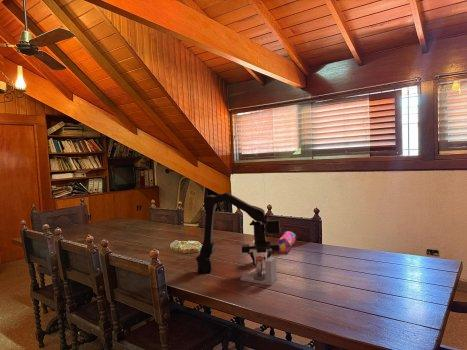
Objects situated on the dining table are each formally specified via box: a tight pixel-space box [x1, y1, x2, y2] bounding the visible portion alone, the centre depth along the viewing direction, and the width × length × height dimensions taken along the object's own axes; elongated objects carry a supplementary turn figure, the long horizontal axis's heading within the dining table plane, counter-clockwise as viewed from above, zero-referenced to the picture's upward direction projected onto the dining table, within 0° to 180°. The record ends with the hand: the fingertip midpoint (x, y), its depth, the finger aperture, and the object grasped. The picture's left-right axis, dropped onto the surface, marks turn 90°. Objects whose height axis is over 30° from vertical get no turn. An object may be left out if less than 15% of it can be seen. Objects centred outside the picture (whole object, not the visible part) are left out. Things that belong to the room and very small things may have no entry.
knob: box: [254, 255, 265, 272], centre depth 165 cm, size 6×6×7 cm
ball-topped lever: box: [254, 256, 266, 280], centre depth 155 cm, size 5×4×10 cm
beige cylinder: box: [251, 240, 267, 265], centre depth 181 cm, size 8×8×12 cm
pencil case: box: [276, 230, 297, 254], centre depth 206 cm, size 22×9×9 cm, turn 161°
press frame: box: [240, 256, 278, 286], centre depth 160 cm, size 16×17×11 cm
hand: (260, 264), depth 165 cm, fingers open, 6 cm apart
